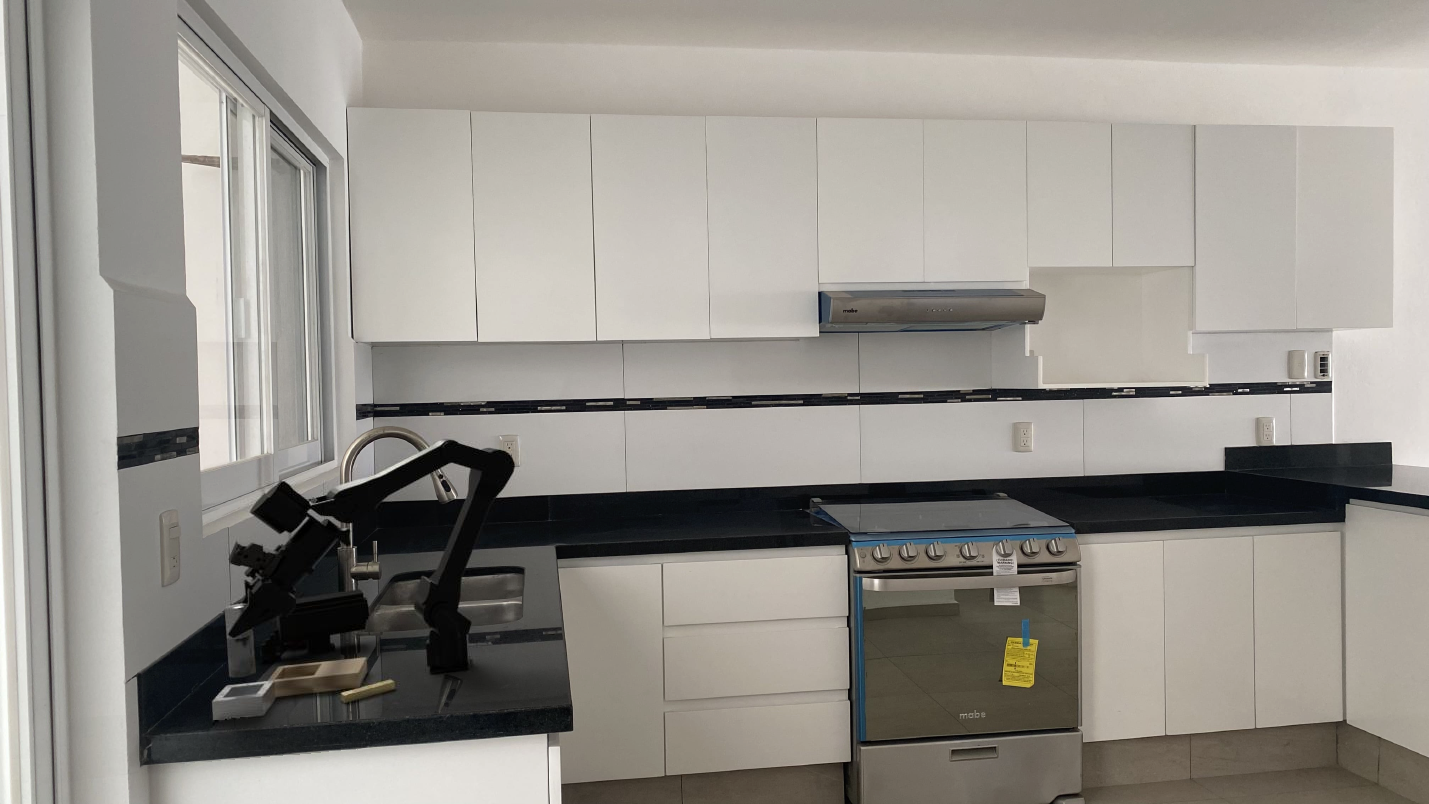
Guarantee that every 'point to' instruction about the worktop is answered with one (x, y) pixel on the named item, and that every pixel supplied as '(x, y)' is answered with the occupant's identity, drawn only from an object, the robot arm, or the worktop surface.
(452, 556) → the robot arm
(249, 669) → the tin canister
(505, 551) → the worktop surface
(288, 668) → the wooden box
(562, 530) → the worktop surface
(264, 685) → the socket block
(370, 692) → the bar
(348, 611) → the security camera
